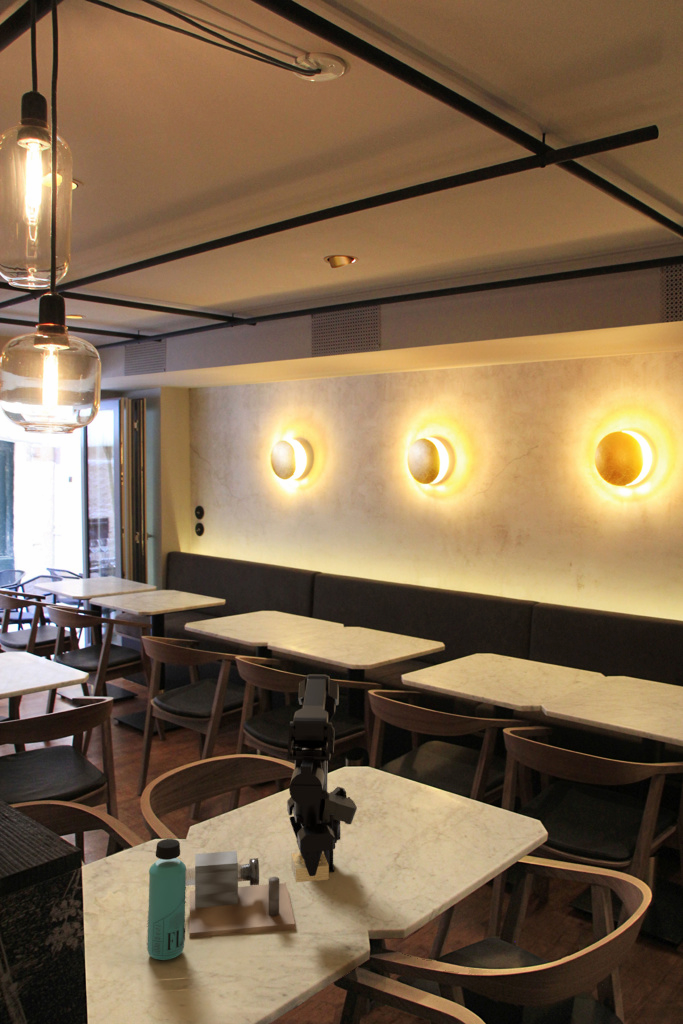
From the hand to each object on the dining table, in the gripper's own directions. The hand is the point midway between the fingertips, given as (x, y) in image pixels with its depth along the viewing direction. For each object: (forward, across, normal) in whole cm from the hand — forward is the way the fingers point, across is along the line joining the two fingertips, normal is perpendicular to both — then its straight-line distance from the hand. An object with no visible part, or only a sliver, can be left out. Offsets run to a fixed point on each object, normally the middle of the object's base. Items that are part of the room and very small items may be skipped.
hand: (309, 867), depth 146 cm
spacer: (+1, 0, 0) cm, 1 cm away
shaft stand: (+11, +7, +12) cm, 18 cm away
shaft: (+7, +10, +16) cm, 20 cm away
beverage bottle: (+11, -6, +26) cm, 29 cm away
